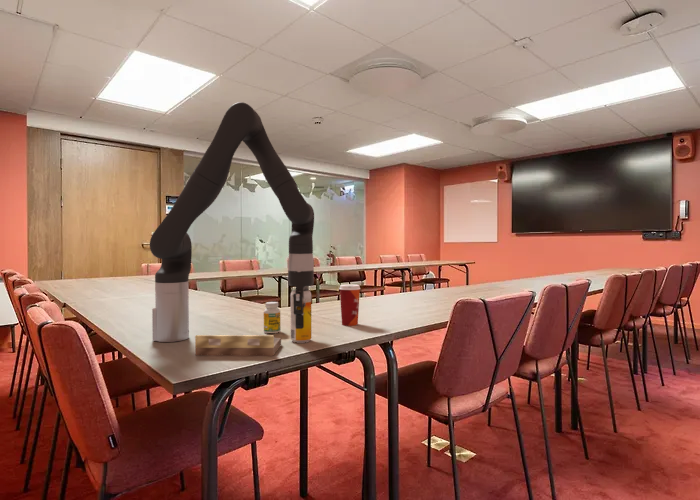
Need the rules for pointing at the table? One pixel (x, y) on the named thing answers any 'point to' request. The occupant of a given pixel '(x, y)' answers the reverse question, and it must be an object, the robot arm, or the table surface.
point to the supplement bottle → (272, 318)
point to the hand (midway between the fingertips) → (301, 325)
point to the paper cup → (349, 304)
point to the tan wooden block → (236, 345)
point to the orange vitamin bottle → (305, 332)
